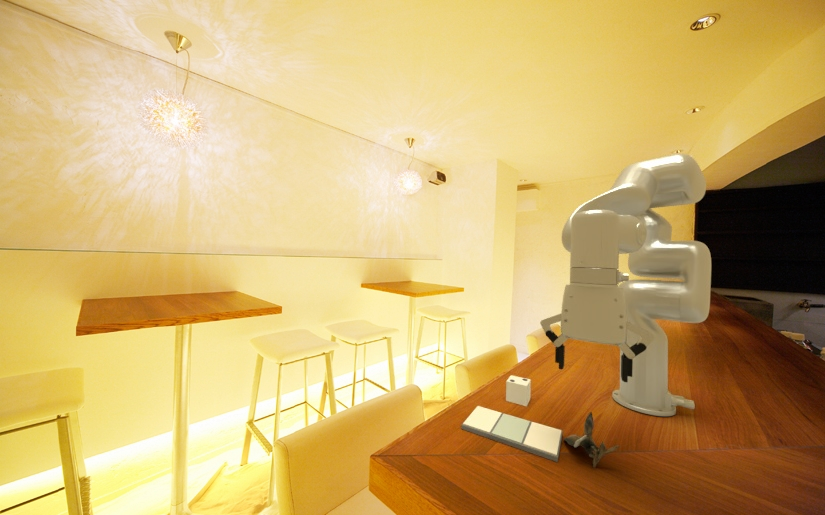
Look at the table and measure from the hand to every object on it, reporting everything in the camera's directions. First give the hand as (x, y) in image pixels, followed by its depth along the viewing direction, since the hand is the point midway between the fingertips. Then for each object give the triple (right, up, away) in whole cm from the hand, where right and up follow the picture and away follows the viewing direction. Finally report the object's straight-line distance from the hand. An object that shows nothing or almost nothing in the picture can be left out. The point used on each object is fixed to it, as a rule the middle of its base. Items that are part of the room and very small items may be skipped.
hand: (591, 373), depth 52 cm
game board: (-12, -15, +7) cm, 20 cm away
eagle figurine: (0, -16, +1) cm, 15 cm away
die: (-5, -16, +22) cm, 27 cm away
